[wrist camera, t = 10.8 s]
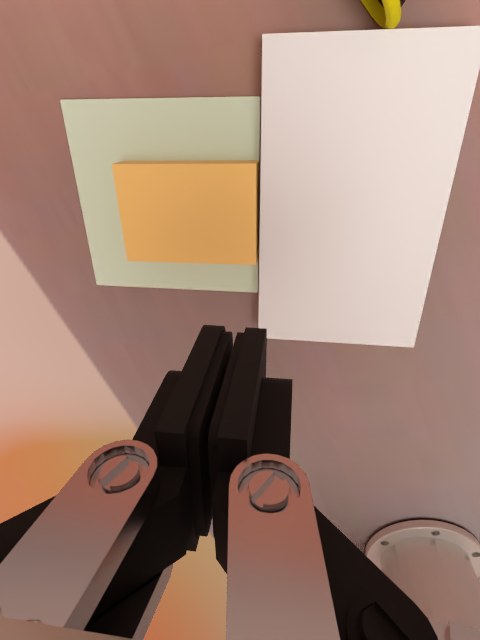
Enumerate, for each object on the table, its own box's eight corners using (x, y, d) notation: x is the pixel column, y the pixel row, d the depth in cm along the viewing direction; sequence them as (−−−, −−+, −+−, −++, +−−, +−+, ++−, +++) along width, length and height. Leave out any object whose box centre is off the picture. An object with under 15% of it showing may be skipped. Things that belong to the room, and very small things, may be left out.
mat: (257, 291, 32) (257, 292, 32) (98, 283, 34) (96, 285, 34) (260, 96, 26) (259, 96, 25) (62, 99, 27) (59, 99, 27)
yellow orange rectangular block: (258, 256, 31) (256, 264, 29) (136, 252, 32) (127, 261, 30) (259, 160, 27) (256, 163, 26) (123, 160, 29) (111, 164, 27)
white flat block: (406, 331, 32) (413, 347, 30) (261, 323, 34) (258, 337, 31) (471, 33, 23) (489, 25, 21) (265, 40, 24) (262, 34, 22)
